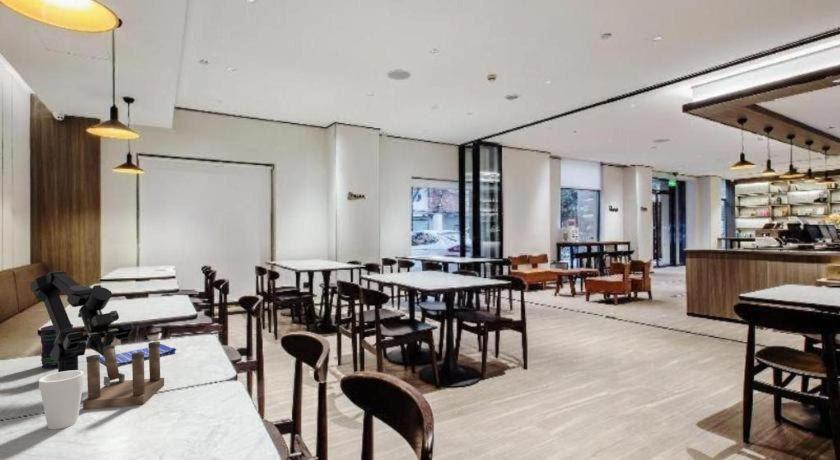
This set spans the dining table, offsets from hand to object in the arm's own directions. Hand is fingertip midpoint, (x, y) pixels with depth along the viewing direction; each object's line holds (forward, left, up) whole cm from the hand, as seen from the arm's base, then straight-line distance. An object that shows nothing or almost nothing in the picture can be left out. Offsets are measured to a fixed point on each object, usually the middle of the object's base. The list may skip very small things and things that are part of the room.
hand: (107, 356), depth 144 cm
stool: (+13, 0, -10) cm, 17 cm away
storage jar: (-46, 0, -11) cm, 47 cm away
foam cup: (+19, -18, -11) cm, 29 cm away
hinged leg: (+4, 0, -7) cm, 8 cm away
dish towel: (-31, +22, -11) cm, 39 cm away
